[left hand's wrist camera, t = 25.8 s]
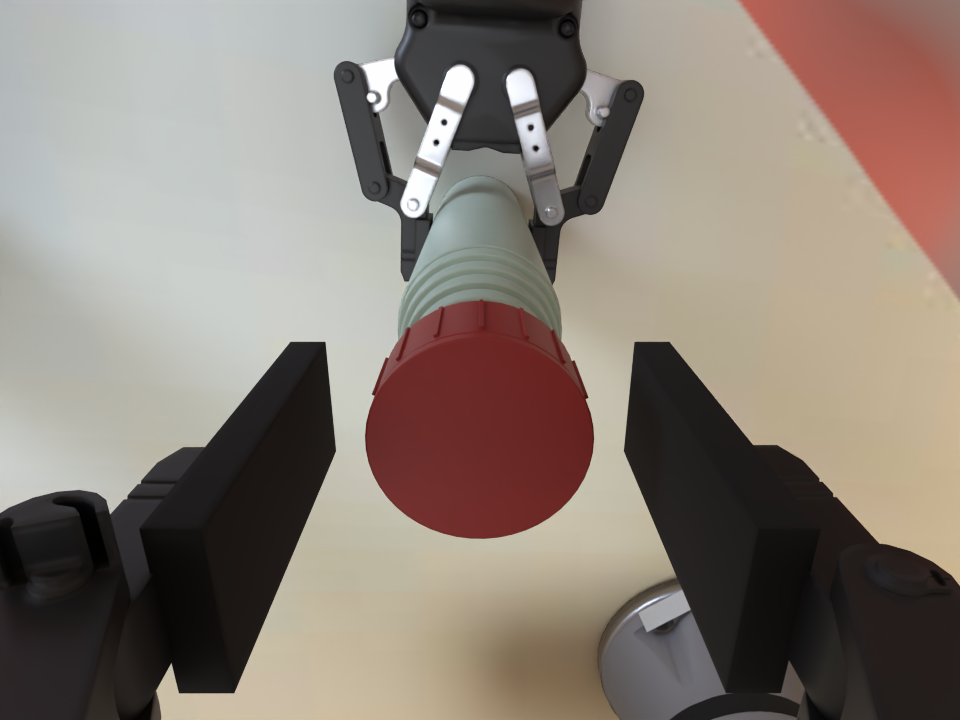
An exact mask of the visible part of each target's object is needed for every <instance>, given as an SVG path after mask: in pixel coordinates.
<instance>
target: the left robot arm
mask: <svg viewBox="0 0 960 720" xmlns="http://www.w3.org/2000/svg"><path fill="white" fill-rule="evenodd" d="M335 452H336V446H335V436H334V425H333V415H332V405H331V395H330V384H329V374H328V364H327V354H326V343H325V342H290V343H289V345H288V346H287V347H286V348H285V350H284V351H283V352H282V353H281V354H280V356H279V357H278V358H277V359H276V361H275V362H274V363H273V364H272V366H271V367H270V368H269V369H268V370H267V372H266V373H265V374H264V375H263V377H262V378H261V379H260V380H259V382H258V383H257V384H256V385H255V387H254V388H253V389H252V390H251V391H250V393H249V394H248V395H247V396H246V398H245V399H244V400H243V401H242V403H241V404H240V405H239V406H238V407H237V409H236V410H235V411H234V412H233V414H232V415H231V416H230V417H229V419H228V420H227V421H226V422H225V423H224V425H223V426H222V427H221V428H220V430H219V431H218V432H217V433H216V435H215V436H214V437H213V438H212V439H211V441H210V442H209V443H208V444H207V446H206V447H183V448H181V449H180V450H178V451H176V452H175V453H173V454H171V455H170V456H168V457H166V458H165V459H163V460H161V461H160V462H158V463H157V464H156V465H155V466H154V467H153V468H152V469H151V470H150V472H149V473H148V474H147V475H146V476H145V477H144V478H143V479H142V480H141V484H138V485H137V486H136V487H135V488H134V489H133V490H132V491H131V492H130V494H129V495H128V498H127V500H123V501H122V502H121V503H120V504H119V506H118V507H117V508H116V509H115V510H114V511H113V512H112V513H111V514H110V513H109V509H108V505H107V502H106V500H105V499H104V498H103V497H101V496H100V495H99V494H97V493H94V492H88V491H82V490H75V491H62V492H55V493H51V494H47V495H43V496H39V497H35V498H32V499H29V500H27V501H24V502H22V503H19V504H17V505H15V506H12V507H10V508H8V509H6V510H5V511H3V512H2V513H0V720H161V711H160V704H159V700H158V696H157V692H156V690H157V688H158V686H159V684H160V682H161V681H162V679H163V677H164V675H165V673H166V672H167V670H168V668H169V666H170V664H171V663H172V666H173V670H174V675H175V679H176V683H177V687H178V691H179V693H235V690H236V688H237V685H238V683H239V681H240V678H241V676H242V673H243V671H244V669H245V666H246V664H247V662H248V659H249V657H250V654H251V652H252V650H253V647H254V645H255V643H256V640H257V638H258V635H259V633H260V631H261V628H262V626H263V624H264V621H265V619H266V616H267V614H268V612H269V609H270V607H271V605H272V602H273V600H274V597H275V595H276V593H277V590H278V588H279V586H280V583H281V581H282V578H283V576H284V574H285V571H286V569H287V566H288V564H289V562H290V559H291V557H292V555H293V552H294V550H295V547H296V545H297V543H298V540H299V538H300V536H301V533H302V531H303V528H304V526H305V524H306V521H307V519H308V517H309V514H310V512H311V509H312V507H313V505H314V502H315V500H316V498H317V495H318V493H319V490H320V488H321V486H322V483H323V481H324V479H325V476H326V474H327V471H328V469H329V467H330V464H331V462H332V459H333V457H334V455H335ZM624 452H625V455H626V457H627V460H628V462H629V464H630V467H631V469H632V471H633V474H634V476H635V479H636V481H637V483H638V486H639V488H640V490H641V493H642V495H643V498H644V500H645V502H646V505H647V507H648V509H649V512H650V514H651V517H652V519H653V521H654V524H655V526H656V528H657V531H658V533H659V536H660V538H661V540H662V543H663V545H664V547H665V550H666V552H667V555H668V557H669V559H670V562H671V564H672V566H673V569H674V571H675V574H676V576H677V578H678V579H676V580H673V581H669V582H666V583H663V584H660V585H658V586H655V587H653V588H651V589H649V590H647V591H645V592H643V593H642V594H640V595H638V596H637V597H635V598H634V599H632V600H631V601H630V602H628V603H627V604H626V605H625V606H624V607H623V608H622V609H621V610H619V611H618V613H617V614H616V615H615V616H614V617H613V618H612V620H611V621H610V623H609V624H608V626H607V627H606V629H605V631H604V633H603V636H602V638H601V641H600V644H599V649H598V668H599V672H600V677H601V682H602V686H603V690H604V693H605V695H606V698H607V699H608V702H609V704H610V706H611V708H612V709H613V711H614V713H615V714H616V715H617V716H618V718H619V719H620V720H960V586H959V584H958V583H957V582H956V581H955V579H954V578H953V577H952V576H951V575H950V574H949V573H947V572H946V571H944V570H943V569H942V568H940V567H939V566H938V565H936V564H935V563H934V562H932V561H930V560H928V559H926V558H923V557H921V556H919V555H917V554H915V553H913V552H911V551H908V550H904V549H901V548H897V547H894V546H890V545H886V544H879V543H878V542H877V541H876V540H875V539H874V537H873V536H872V535H871V534H870V533H869V532H868V531H867V530H866V529H865V528H864V527H863V525H862V524H861V523H860V522H859V521H858V520H857V519H856V518H855V517H854V516H853V515H852V514H851V512H850V511H849V510H848V509H847V508H846V507H845V506H844V505H843V504H842V503H841V502H840V500H839V499H838V498H837V497H833V493H832V492H831V491H830V490H829V488H828V487H827V486H826V485H825V484H824V483H823V482H820V481H819V478H818V476H817V475H816V474H815V473H814V472H813V471H812V470H811V469H810V468H809V467H808V466H807V464H806V463H805V462H804V461H803V460H801V459H799V458H798V457H796V456H794V455H793V454H791V453H789V452H788V451H786V450H784V449H783V448H781V447H779V446H778V445H753V444H752V443H751V442H750V441H749V439H748V438H747V437H746V436H745V435H744V433H743V432H742V431H741V430H740V428H739V427H738V426H737V425H736V423H735V422H734V421H733V420H732V419H731V417H730V416H729V415H728V414H727V412H726V411H725V410H724V409H723V407H722V406H721V405H720V404H719V403H718V401H717V400H716V399H715V398H714V396H713V395H712V394H711V393H710V391H709V390H708V389H707V388H706V387H705V385H704V384H703V383H702V382H701V380H700V379H699V378H698V377H697V375H696V374H695V373H694V372H693V371H692V369H691V368H690V367H689V366H688V364H687V363H686V362H685V361H684V359H683V358H682V357H681V356H680V354H679V353H678V352H677V351H676V350H675V348H674V347H673V346H672V345H671V343H670V342H635V343H634V354H633V364H632V374H631V384H630V395H629V405H628V415H627V425H626V436H625V446H624Z"/></svg>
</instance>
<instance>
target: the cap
mask: <svg viewBox="0 0 960 720" xmlns="http://www.w3.org/2000/svg"><path fill="white" fill-rule="evenodd" d="M372 395H374V396H375V397H374V399H373V402H372V405H371V407H370V410H369V414H368V418H367V423H366V433H365V442H366V452H367V457H368V462H369V465H370V467H371V470H372V473H373V475H374V477H375V479H376V481H377V483H378V485H379V487H380V488H381V489H382V491H383V492H384V493H385V495H386V496H387V498H388V499H389V500H390V501H391V502H392V503H393V504H394V505H395V506H396V507H397V508H398V509H399V510H401V511H402V512H403V513H404V514H405V515H407V516H408V517H410V518H411V519H413V520H414V521H416V522H417V523H419V524H421V525H423V526H425V527H427V528H430V529H432V530H435V531H438V532H440V533H443V534H447V535H452V536H456V537H463V538H475V539H486V538H497V537H503V536H508V535H512V534H515V533H519V532H522V531H525V530H527V529H529V528H532V527H534V526H536V525H538V524H540V523H541V522H543V521H545V520H546V519H548V518H550V517H551V516H552V515H554V514H555V513H556V512H557V511H559V510H560V509H561V508H562V507H563V506H564V505H565V504H566V503H567V502H568V501H569V500H570V499H571V498H572V496H573V495H574V494H575V492H576V491H577V490H578V488H579V486H580V485H581V483H582V481H583V480H584V478H585V475H586V473H587V470H588V468H589V466H590V462H591V458H592V453H593V444H594V431H593V423H592V418H591V413H590V410H589V408H588V405H587V402H586V399H587V398H588V395H587V392H586V390H585V387H584V384H583V382H582V379H581V376H580V374H579V371H578V368H577V366H576V363H575V361H571V358H570V355H569V354H568V352H567V350H566V348H565V346H564V345H563V343H562V342H561V340H560V339H559V338H558V336H557V333H556V331H555V330H554V329H553V330H551V329H550V328H549V327H548V326H547V325H546V324H544V323H543V322H542V321H541V320H539V319H538V318H536V317H535V316H533V315H531V314H530V313H528V312H526V311H524V309H523V308H521V307H520V308H516V307H514V306H510V305H507V304H503V303H498V302H491V301H483V299H480V300H479V301H469V302H461V303H457V304H452V305H448V306H446V307H443V306H441V307H439V309H438V310H435V311H434V312H432V313H430V314H428V315H426V316H424V317H423V318H422V319H420V320H419V321H417V322H416V323H415V324H413V325H412V326H411V327H410V328H409V327H407V328H406V329H405V332H404V334H403V336H402V337H401V338H400V339H399V341H398V342H397V343H396V345H395V347H394V349H393V350H392V352H391V354H390V357H389V358H386V359H385V361H384V364H383V366H382V369H381V372H380V374H379V377H378V380H377V382H376V385H375V388H374V390H373V393H372Z"/></svg>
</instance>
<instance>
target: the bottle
mask: <svg viewBox="0 0 960 720" xmlns="http://www.w3.org/2000/svg"><path fill="white" fill-rule="evenodd" d="M480 299H483V301H491V302H498V303H503V304H507V305H510V306H514V307H516V308H520V307H521V308H523V309H524V311H526V312H528V313H530V314H531V315H533V316H535V317H536V318H538V319H539V320H541V321H542V322H543V323H544V324H546V325H547V326H548V327H549V328H550V329H551V330H553V329H554V330H555V331H556V333H557V336H558V338H559V339H560V340H561V334H562V326H561V312H560V306H559V302H558V298H557V296H556V293H555V291H554V288H553V286H552V283H551V281H550V279H549V276H548V274H547V271H546V269H545V266H544V264H543V261H542V259H541V256H540V254H539V252H538V249H537V247H536V244H535V242H534V239H533V237H532V234H531V232H530V230H529V227H528V225H527V222H526V220H525V217H524V215H523V212H522V210H521V207H520V205H519V203H518V200H517V198H516V196H515V195H514V193H513V192H512V191H511V190H510V189H509V187H508V186H506V185H505V184H504V183H502V182H501V181H499V180H497V179H494V178H491V177H487V176H473V177H469V178H466V179H463V180H461V181H459V182H458V183H456V184H455V185H454V186H452V187H451V188H450V190H449V191H448V192H447V193H446V195H445V196H444V198H443V200H442V202H441V205H440V207H439V210H438V212H437V214H436V217H435V219H434V222H433V224H432V227H431V229H430V231H429V234H428V236H427V239H426V241H425V243H424V246H423V248H422V251H421V253H420V256H419V258H418V260H417V263H416V265H415V268H414V270H413V273H412V275H411V277H410V280H409V282H408V285H407V287H406V290H405V292H404V295H403V297H402V300H401V304H400V309H399V319H398V341H399V339H400V338H401V337H402V336H403V334H404V332H405V329H406V328H407V327H409V328H410V327H411V326H412V325H413V324H415V323H416V322H417V321H419V320H420V319H422V318H423V317H424V316H426V315H428V314H430V313H432V312H434V311H435V310H438V309H439V307H441V306H443V307H446V306H448V305H452V304H457V303H461V302H469V301H479V300H480Z"/></svg>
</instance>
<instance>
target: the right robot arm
mask: <svg viewBox="0 0 960 720" xmlns="http://www.w3.org/2000/svg"><path fill="white" fill-rule="evenodd" d="M581 8H582V0H407V20H406V28H405V32H404V35H403V38H402V40H401V42H400V44H399V46H398V47H397V49H396V52H395V56H394V57H391V58H386V59H381V60H377V61H372V62H367V63H362V64H355V63H353V62H349V61H344V62H341V63H340V64H338V65H337V67H336V68H335V71H334V80H335V84H336V88H337V92H338V96H339V100H340V104H341V108H342V112H343V116H344V120H345V124H346V128H347V132H348V136H349V140H350V144H351V148H352V152H353V156H354V160H355V164H356V169H357V173H358V177H359V181H360V185H361V189H362V192H363V194H364V196H365V197H366V198H367V199H369V200H371V201H378V202H380V203H383V204H385V205H387V206H390V207H392V208H393V209H395V210H396V211H397V212H398V214H399V216H400V218H401V273H402V276H403V278H404V281H409V280H410V277H411V275H412V273H413V270H414V268H415V265H416V263H417V260H418V258H419V256H420V253H421V251H422V248H423V246H424V243H425V241H426V239H427V236H428V234H429V231H430V229H431V227H432V224H433V213H429V202H430V199H431V197H432V194H433V192H434V189H435V187H436V184H437V182H438V179H439V177H440V174H441V171H442V169H443V167H444V164H445V162H446V159H447V157H448V154H449V152H450V149H451V148H452V150H464V151H470V150H474V149H479V148H483V147H488V148H491V149H494V150H497V151H499V152H502V153H514V154H520V155H521V159H522V163H523V167H524V170H525V173H526V177H527V180H528V184H529V188H530V192H531V195H532V199H533V203H534V216H533V220H531V219H529V224H528V227H529V230H530V232H531V234H532V237H533V239H534V242H535V244H536V247H537V249H538V252H539V254H540V256H541V259H542V261H543V264H544V266H545V269H546V271H547V274H548V276H549V279H550V281H551V283H552V285H553V283H554V281H555V275H556V265H557V255H558V246H559V236H560V230H561V227H562V225H563V224H564V223H565V222H566V221H567V220H569V219H571V218H574V217H577V216H580V215H584V214H588V215H593V214H596V213H598V212H599V211H600V210H601V209H602V207H603V205H604V203H605V200H606V197H607V194H608V192H609V189H610V186H611V184H612V181H613V178H614V176H615V173H616V170H617V168H618V165H619V162H620V160H621V157H622V154H623V152H624V149H625V146H626V144H627V141H628V138H629V136H630V133H631V130H632V128H633V125H634V122H635V120H636V117H637V114H638V112H639V109H640V106H641V104H642V101H643V98H644V90H643V87H642V85H641V84H640V83H639V82H637V81H635V80H625V81H620V80H617V79H614V78H611V77H608V76H605V75H602V74H600V73H597V72H594V71H591V70H588V69H587V65H586V61H585V58H584V56H583V53H582V50H581V46H580V40H579V27H580V18H581ZM399 80H400V82H401V83H402V85H403V86H404V88H405V90H406V91H407V93H408V94H409V96H410V98H411V99H412V101H413V102H414V104H415V106H416V107H417V109H418V110H419V112H420V114H421V115H422V117H423V118H424V120H425V121H426V123H427V125H428V127H427V130H426V133H425V135H424V138H423V141H422V143H421V146H420V149H419V151H418V154H417V157H416V160H415V163H414V167H413V169H412V172H411V175H410V177H409V180H408V182H407V181H405V180H403V179H401V178H398V177H396V176H394V175H393V173H392V169H391V165H390V160H389V156H388V152H387V147H386V143H385V138H384V134H383V130H382V125H381V121H380V117H379V112H382V111H384V110H385V109H387V107H388V106H389V104H390V90H391V87H392V86H393V84H394V83H395V82H397V81H399ZM578 92H580V93H582V94H583V95H584V97H585V99H586V103H587V106H586V118H587V120H588V121H589V122H590V123H591V124H592V125H595V128H594V131H593V133H592V136H591V139H590V142H589V145H588V148H587V150H586V153H585V156H584V159H583V162H582V165H581V167H580V170H579V173H578V176H577V179H576V182H575V184H574V186H573V187H569V188H566V189H563V190H559V186H558V182H557V178H556V173H555V166H554V161H553V157H552V153H551V149H550V145H549V141H548V137H547V133H546V132H547V131H548V130H549V128H550V127H551V126H552V125H553V123H554V122H555V121H556V120H557V118H558V117H559V116H560V115H561V113H562V112H563V111H564V110H565V108H566V107H567V106H568V105H569V103H570V102H571V101H572V100H573V99H574V97H575V96H576V95H577V94H578Z"/></svg>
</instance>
